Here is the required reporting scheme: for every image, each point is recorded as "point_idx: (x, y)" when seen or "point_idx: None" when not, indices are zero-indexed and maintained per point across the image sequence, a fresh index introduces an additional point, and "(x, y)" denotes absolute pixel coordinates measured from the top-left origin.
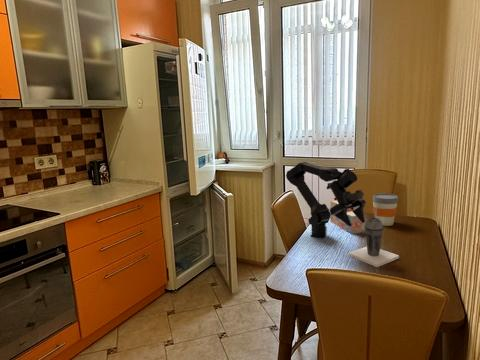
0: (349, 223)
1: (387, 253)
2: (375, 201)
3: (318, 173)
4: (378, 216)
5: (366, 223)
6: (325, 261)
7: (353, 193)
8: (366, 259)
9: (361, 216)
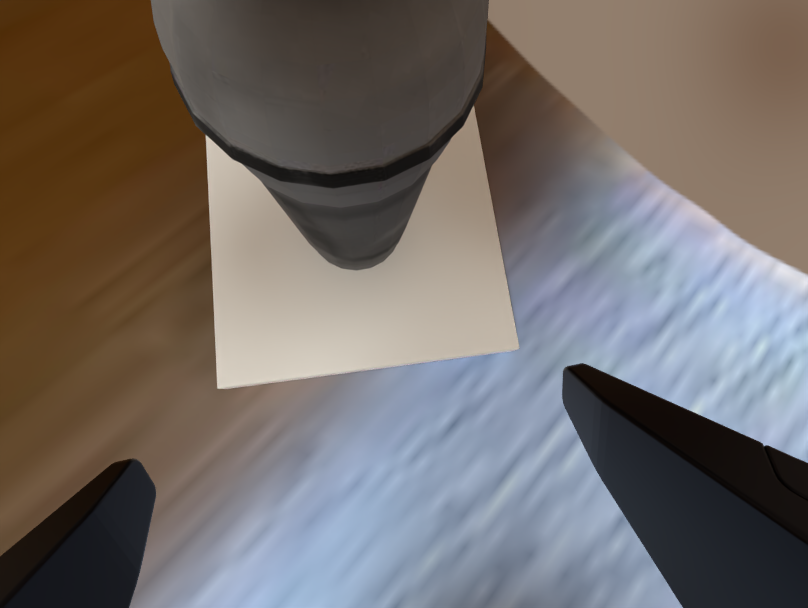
0: (623, 395)
1: (244, 181)
2: None
3: None
4: None
5: (470, 30)
6: (739, 350)
7: None
8: (478, 181)
9: (48, 600)
